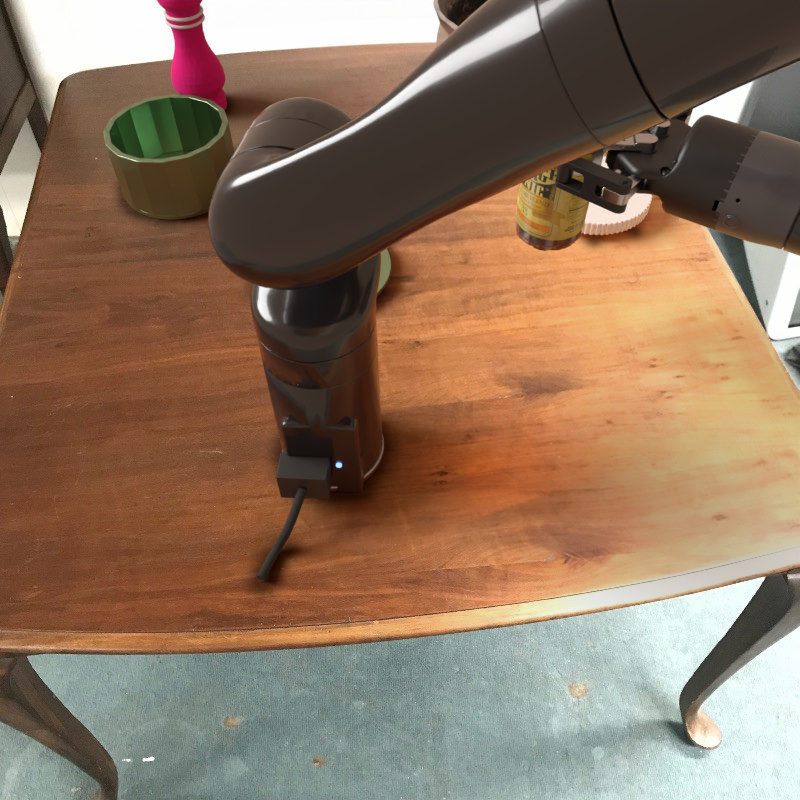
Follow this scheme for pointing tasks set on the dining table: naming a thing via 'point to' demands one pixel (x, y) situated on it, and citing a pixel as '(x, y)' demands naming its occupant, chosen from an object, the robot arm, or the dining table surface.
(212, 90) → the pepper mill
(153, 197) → the pot
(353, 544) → the dining table surface
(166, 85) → the dining table surface
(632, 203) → the plastic lid
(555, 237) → the sauce bottle
